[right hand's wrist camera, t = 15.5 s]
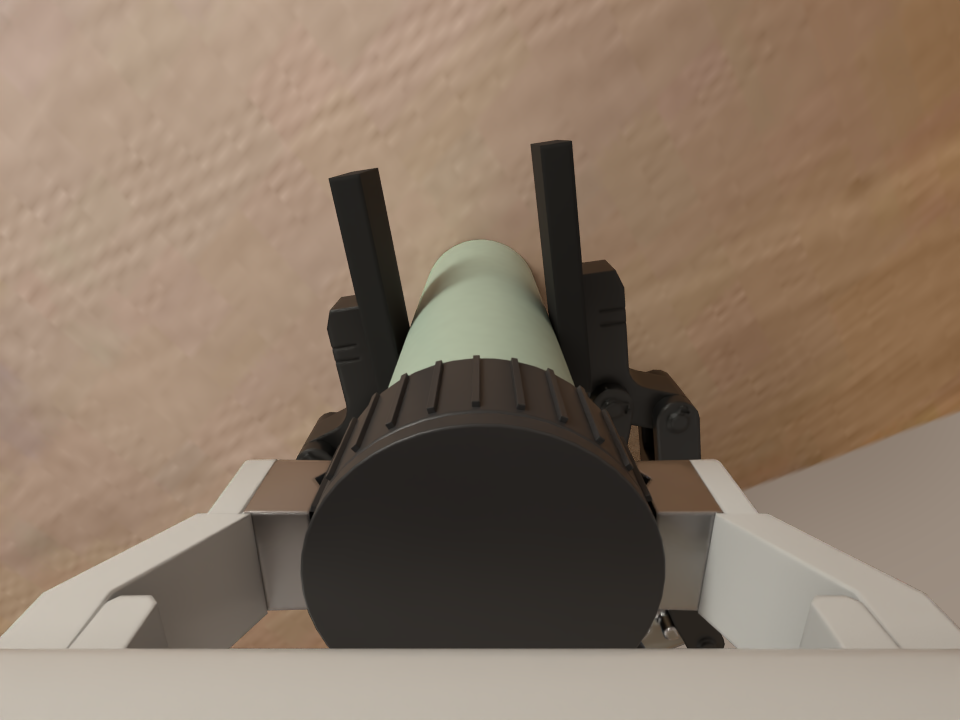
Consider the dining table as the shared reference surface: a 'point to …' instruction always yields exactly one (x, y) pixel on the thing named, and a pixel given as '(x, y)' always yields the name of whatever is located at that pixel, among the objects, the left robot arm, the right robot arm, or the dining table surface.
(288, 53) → the dining table surface
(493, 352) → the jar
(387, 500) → the lid
